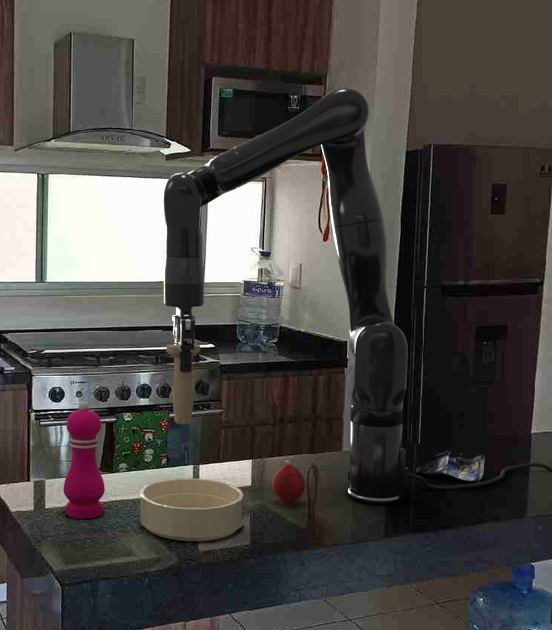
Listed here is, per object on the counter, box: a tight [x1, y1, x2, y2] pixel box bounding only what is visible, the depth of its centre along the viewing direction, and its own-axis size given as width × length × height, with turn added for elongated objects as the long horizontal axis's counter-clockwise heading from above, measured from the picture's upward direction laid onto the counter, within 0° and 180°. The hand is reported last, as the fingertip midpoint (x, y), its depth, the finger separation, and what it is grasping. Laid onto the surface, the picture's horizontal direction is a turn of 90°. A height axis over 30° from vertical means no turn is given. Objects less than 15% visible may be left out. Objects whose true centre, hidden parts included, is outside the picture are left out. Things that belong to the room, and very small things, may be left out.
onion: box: [271, 460, 306, 505], centre depth 150 cm, size 6×6×8 cm
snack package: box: [416, 450, 486, 483], centre depth 168 cm, size 12×6×12 cm
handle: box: [166, 343, 201, 426], centre depth 158 cm, size 5×6×15 cm
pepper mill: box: [62, 400, 106, 520], centre depth 144 cm, size 7×7×20 cm
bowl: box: [139, 477, 245, 542], centre depth 139 cm, size 17×17×6 cm
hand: (183, 369), depth 158 cm, fingers closed on handle, 5 cm apart
